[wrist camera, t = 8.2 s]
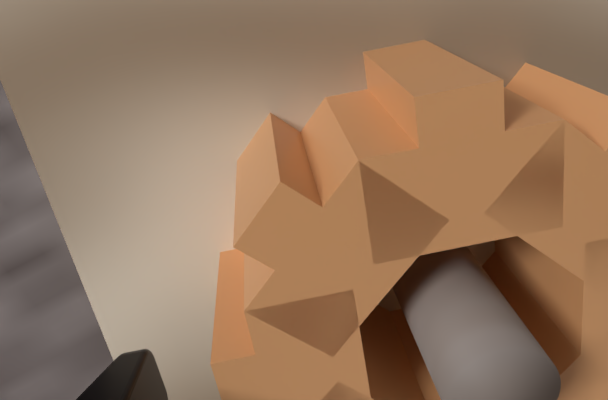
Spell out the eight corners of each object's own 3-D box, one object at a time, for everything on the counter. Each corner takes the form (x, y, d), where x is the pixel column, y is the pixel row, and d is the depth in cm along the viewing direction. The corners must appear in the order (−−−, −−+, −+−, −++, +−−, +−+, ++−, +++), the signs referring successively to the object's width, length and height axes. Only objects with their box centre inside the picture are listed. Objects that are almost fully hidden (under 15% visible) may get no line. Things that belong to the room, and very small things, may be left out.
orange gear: (592, 350, 12) (696, 470, 9) (264, 416, 12) (270, 557, 9) (609, 3, 9) (768, 27, 6) (175, 88, 9) (143, 150, 6)
